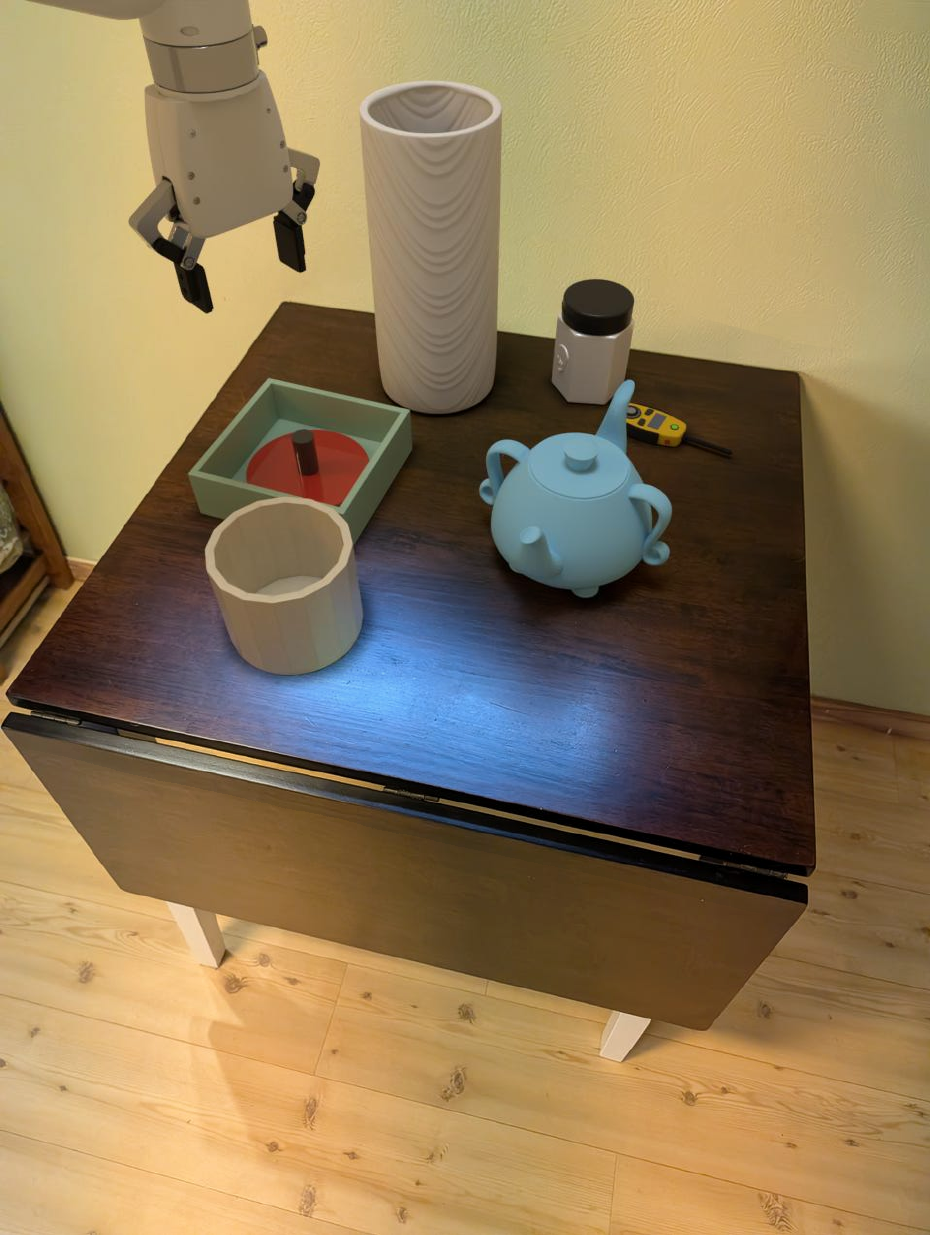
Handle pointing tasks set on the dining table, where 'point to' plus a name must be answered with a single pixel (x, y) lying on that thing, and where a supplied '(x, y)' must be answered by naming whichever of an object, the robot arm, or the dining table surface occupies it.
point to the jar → (593, 341)
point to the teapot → (576, 506)
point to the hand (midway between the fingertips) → (248, 286)
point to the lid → (309, 465)
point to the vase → (434, 239)
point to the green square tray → (286, 412)
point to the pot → (286, 584)
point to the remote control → (660, 428)
